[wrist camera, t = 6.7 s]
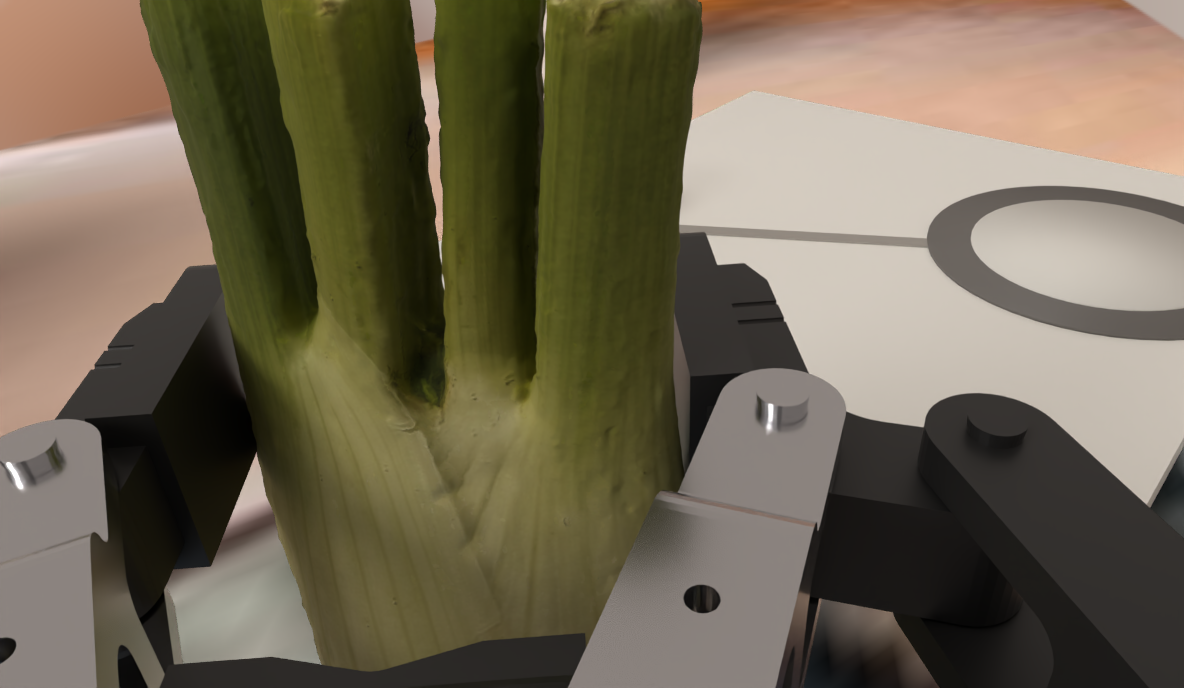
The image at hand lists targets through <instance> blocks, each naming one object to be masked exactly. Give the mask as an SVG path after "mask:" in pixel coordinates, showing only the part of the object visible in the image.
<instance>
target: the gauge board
mask: <svg viewBox="0 0 1184 688" xmlns="http://www.w3.org/2000/svg"><path fill="white" fill-rule="evenodd" d="M679 232H680V233H692V232H705V233H706V235H707V238H708V241H709V243H710V246H711V249H712V252H713V254H714V257H715V260H716V263H717V265H724V264H738V263H745V264H746V265H748V266H749V267H750V268H752V269H753V270H754V271H756V272H757V273H759V274H760V275H761V276H763V277H764V278H765V279H767V281H768V283H769V285H770V287H771V289H772V292H773V294H774V296H775V298H776V304H777V305H779V307H780V310H781V312H782V314H783V316H784V322H786V323H787V325H788V327H789V330H790V332H791V334H792V336H793V339H794V341H795V343H796V345H797V348H798V350H799V352H800V354H801V357H802V359H803V361H804V363H805V365H806V368H807V370H808V372H809V374H812V375H814V376H817V377H819V378H821V379H823V380H825V381H826V382H828V383H830V384H831V385H832V386H833V387H834V388H836V389H837V390H838V392H839V393H840V394H841V395H842V397H843V399H844V401H845V405H846V411H847V412H849V413H852V414H855V415H857V416H860V417H864V418H867V419H871V420H876V421H882V422H888V423H896V424H903V425H911V426H918V427H924V423H925V418H926V415H927V413H928V411H929V409H930V408H931V407H932V406H933V405H934V404H936V403H937V402H939V401H940V400H943V399H945V398H947V397H950V396H954V395H959V394H966V393H985V394H994V395H1000V396H1005V397H1009V398H1013V399H1016V400H1019V401H1021V402H1024V403H1027V404H1029V405H1031V406H1033V407H1035V408H1037V409H1039V410H1040V411H1042V412H1044V413H1045V414H1047V415H1048V416H1049V417H1050V418H1052V419H1053V420H1054V421H1055V422H1056V423H1057V424H1058V425H1060V426H1061V427H1062V428H1063V429H1064V430H1065V431H1066V432H1067V433H1068V434H1069V435H1071V436H1072V437H1073V438H1074V439H1075V440H1076V441H1077V442H1078V443H1079V444H1080V445H1082V446H1083V447H1084V448H1085V449H1086V450H1087V451H1088V452H1089V453H1090V454H1091V455H1093V456H1094V457H1095V458H1096V459H1097V460H1098V461H1099V462H1100V463H1101V464H1102V465H1104V466H1105V467H1106V468H1107V469H1108V470H1109V471H1110V472H1111V473H1112V474H1113V475H1114V476H1116V477H1117V478H1118V479H1119V480H1120V481H1121V482H1122V483H1123V484H1124V485H1125V486H1127V487H1128V488H1129V489H1130V490H1131V491H1132V492H1133V493H1134V494H1135V495H1136V496H1138V497H1139V498H1140V499H1141V500H1142V501H1143V502H1144V503H1145V504H1146V505H1147V506H1149V507H1151V505H1152V503H1153V502H1154V500H1155V498H1156V496H1157V494H1158V493H1159V491H1160V489H1161V487H1162V485H1163V483H1164V482H1165V480H1166V478H1167V476H1168V474H1169V472H1170V471H1171V469H1172V467H1173V465H1174V463H1175V461H1176V460H1177V458H1178V456H1179V454H1180V452H1181V450H1182V449H1183V447H1184V176H1179V175H1174V174H1169V173H1164V172H1159V171H1154V170H1149V169H1144V168H1139V167H1134V166H1129V165H1124V164H1119V163H1114V162H1109V161H1104V160H1099V159H1094V158H1089V157H1084V156H1079V155H1074V154H1069V153H1064V152H1059V151H1054V150H1049V149H1044V148H1039V147H1034V146H1029V145H1024V144H1019V143H1014V142H1009V141H1004V140H999V139H994V138H989V137H984V136H979V135H974V134H969V133H964V132H959V131H954V130H949V129H944V128H939V127H934V126H929V125H924V124H919V123H914V122H909V121H904V120H899V119H894V118H889V117H884V116H879V115H874V114H869V113H864V112H859V111H854V110H849V109H844V108H839V107H834V106H829V105H824V104H819V103H814V102H809V101H804V100H799V99H794V98H789V97H784V96H779V95H774V94H769V93H764V92H759V91H752V92H749V93H747V94H745V95H743V96H741V97H739V98H737V99H735V100H733V101H731V102H729V103H727V104H724V105H722V106H720V107H718V108H716V109H714V110H712V111H710V112H708V113H706V114H704V115H701V116H699V117H697V118H695V119H693V120H691V123H690V128H689V133H688V138H687V144H686V150H685V158H684V167H683V193H682V199H681V209H680V220H679ZM441 243H442V240H441V241H439V250H440V259H441V263H442V253H441ZM442 282H443V287H444V278H443V274H442ZM444 290H445V287H444Z"/></svg>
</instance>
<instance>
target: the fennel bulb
mask: <svg viewBox="0 0 1184 688" xmlns="http://www.w3.org/2000/svg"><path fill="white" fill-rule="evenodd" d="M435 5H436V22H435V32H434V62H435V79H436V85H437V90H438V98H439V111H438V113H439V119H440V124H441V128H440V132H439V146H440V161H441V166H440V179H441V183H442V187H443V235H442V243H441V253H442V263H441V259H440V250H439V242H438V236H437V232H436V225H435V218H436V206H435V202H434V198H433V193H432V187H431V183H430V178H429V173H428V144H429V141H430V135H429V132H428V127H427V125H426V124H425V116H426V112H425V106H424V101H423V99H422V96H421V81H420V73H419V68H418V61H417V54H416V51H415V39H414V27H413V19H412V11H411V6H410V0H140V7H141V14H142V17H143V20H144V23H145V26H146V28H147V31H148V35H149V41H150V46H151V50H152V53H153V56H154V58H155V60H156V62H157V64H158V66H159V69H160V71H161V74H162V76H163V78H164V81H165V83H166V87H167V90H168V93H169V96H170V100H171V105H172V111H173V115H174V118H175V120H176V123H177V127H178V132H179V135H180V138H181V140H182V142H183V144H184V148H185V153H186V156H187V159H188V162H189V166H190V169H191V172H192V175H193V178H194V181H195V184H196V187H197V190H198V194H199V199H200V202H201V206H202V210H203V213H204V214H205V216H206V221H207V225H208V228H209V231H210V236H211V240H212V245H213V254H214V258H215V261H216V264H217V269H218V273H219V277H220V282H221V287H222V290H223V294H224V299H225V310H226V314H227V317H228V324H229V327H230V330H231V334H232V339H233V344H234V348H235V354H236V358H237V362H238V366H239V373H240V378H241V381H242V384H243V389H244V393H245V395H246V404H247V409H248V411H249V414H250V416H251V421H252V430H253V434H254V437H255V439H256V442H257V457H258V461H259V464H260V467H261V472H262V475H263V482H264V487H265V492H266V496H267V498H268V501H269V503H270V505H271V507H272V510H273V513H274V516H275V521H276V526H277V530H278V537H279V539H280V541H281V543H282V545H283V548H284V550H285V553H286V556H287V559H288V562H289V565H290V567H291V570H292V573H293V575H294V577H295V579H296V581H297V584H298V587H299V590H300V593H301V597H302V606H303V607H304V609H305V610H306V612H307V616H308V619H309V622H310V624H311V627H312V629H313V634H314V641H315V645H316V648H317V653H318V656H319V659H320V661H321V664H322V665H327V666H333V667H340V668H346V669H353V670H359V671H369V672H370V671H380V670H384V669H388V668H391V667H395V666H398V665H402V664H405V663H409V662H412V661H415V660H419V659H422V658H426V657H429V656H433V655H436V654H439V653H443V652H446V651H450V650H453V649H457V648H460V647H464V646H467V645H470V644H474V643H477V642H481V641H486V640H499V639H512V638H525V637H538V636H551V635H564V634H577V633H585V638H586V647H587V645H588V643H589V640H590V638H591V636H592V634H593V632H594V629H595V627H596V625H597V623H598V621H599V618H600V616H601V614H602V612H603V610H604V608H605V605H606V603H607V601H608V599H609V597H610V594H611V592H612V590H613V588H614V586H615V583H616V581H617V579H618V577H619V575H620V572H621V570H622V568H623V566H624V564H625V562H626V559H627V557H628V555H629V553H630V551H631V548H632V546H633V544H634V542H635V540H636V537H637V535H638V533H639V531H640V529H641V526H642V524H643V522H644V520H645V518H646V515H647V513H648V511H649V509H650V507H651V505H652V503H653V501H654V499H655V497H656V496H657V494H658V493H659V492H660V491H662V490H667V491H672V492H676V493H678V491H679V488H680V486H681V484H682V481H683V479H684V477H685V472H684V466H683V459H682V448H681V442H680V435H679V428H678V415H677V408H676V398H675V387H674V378H673V361H674V309H675V292H676V282H677V258H678V255H679V251H680V232H679V220H680V209H681V199H682V193H683V167H684V158H685V150H686V144H687V138H688V133H689V128H690V123H691V118H692V96H693V87H694V83H695V78H696V74H697V69H698V63H699V51H700V44H701V39H702V21H701V16H702V4H701V2H698V1H697V0H547V1H546V0H435ZM546 10H547V23H546V32H545V44H544V33H543V24H544V17H545V12H546ZM544 45H545V79H544V83H543V77H542V64H543V56H544ZM442 274H443V278H444V287H445V290H444V287H443V282H442Z"/></svg>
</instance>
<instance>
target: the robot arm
mask: <svg viewBox="0 0 1184 688" xmlns="http://www.w3.org/2000/svg"><path fill="white" fill-rule="evenodd" d="M673 378H674V387H675V398H676V408H677V415H678V428H679V435H680V442H681V448H682V459H683V466H684V472H685V477H684V479H683V481H682V484H681V486H680V488H679V491H678V493H676V492H672V491H667V490H662V491H660V492H659V493H658V494H657V496H656V497H655V499H654V501H653V503H652V505H651V507H650V509H649V511H648V513H647V515H646V518H645V520H644V522H643V524H642V526H641V529H640V531H639V533H638V535H637V537H636V540H635V542H634V544H633V546H632V548H631V551H630V553H629V555H628V557H627V559H626V562H625V564H624V566H623V568H622V570H621V572H620V575H619V577H618V579H617V581H616V583H615V586H614V588H613V590H612V592H611V594H610V597H609V599H608V601H607V603H606V605H605V608H604V610H603V612H602V614H601V616H600V618H599V621H598V623H597V625H596V627H595V629H594V632H593V634H592V636H591V638H590V640H589V643H588V645H587V647H586V638H585V633H577V634H564V635H551V636H538V637H525V638H512V639H499V640H486V641H481V642H477V643H474V644H470V645H467V646H464V647H460V648H457V649H453V650H450V651H446V652H443V653H439V654H436V655H433V656H429V657H426V658H422V659H419V660H415V661H412V662H409V663H405V664H402V665H398V666H395V667H391V668H388V669H384V670H380V671H370V672H369V671H359V670H353V669H346V668H340V667H333V666H327V665H320V664H314V663H307V662H301V661H294V660H288V659H281V658H275V657H265V658H252V659H239V660H226V661H213V662H200V663H187V664H183V660H182V653H181V647H180V640H179V633H178V626H177V619H176V613H175V606H174V603H173V600H172V598H171V596H170V593H169V591H168V589H167V586H166V584H167V582H168V580H169V577H170V575H171V573H172V571H173V569H183V568H196V567H210V566H211V565H212V562H213V560H214V557H215V555H216V552H217V550H218V547H219V545H220V542H221V540H222V537H223V535H224V532H225V530H226V527H227V525H228V522H229V520H230V517H231V515H232V512H233V510H234V507H235V505H236V502H237V500H238V497H239V495H240V492H241V490H242V487H243V485H244V482H245V480H246V477H247V475H248V472H249V470H250V467H251V465H252V462H253V460H254V457H255V455H256V452H257V442H256V439H255V437H254V434H253V430H252V421H251V416H250V414H249V411H248V409H247V404H246V395H245V393H244V389H243V384H242V381H241V378H240V373H239V366H238V362H237V358H236V354H235V348H234V344H233V339H232V334H231V330H230V327H229V324H228V317H227V314H226V310H225V299H224V294H223V290H222V287H221V282H220V277H219V273H218V269H217V265H202V266H190V267H188V268H187V269H186V270H185V271H184V273H183V274H182V276H181V277H180V279H179V280H178V282H177V283H176V284H175V286H174V287H173V289H172V290H171V292H170V293H169V295H168V296H167V298H166V299H165V301H164V302H163V303H153V304H152V305H150V306H149V307H148V308H146V309H145V310H143V311H142V312H140V313H139V314H138V315H136V316H135V317H133V318H132V319H130V320H129V321H128V322H126V323H125V324H124V325H123V326H122V328H121V329H120V330H119V332H118V333H117V334H116V336H115V337H114V339H113V340H112V341H111V343H110V344H109V346H108V351H104V352H103V354H102V355H101V357H100V358H99V359H98V361H97V362H96V363H95V369H94V370H90V372H89V373H88V375H87V376H86V377H85V379H84V380H83V381H82V383H81V384H80V386H79V387H78V388H77V390H76V391H75V392H74V394H73V395H72V397H71V398H70V399H69V401H68V402H67V404H66V405H65V406H64V408H63V409H62V410H61V412H60V413H59V415H58V416H57V417H56V419H55V420H51V421H45V422H40V423H36V424H32V425H29V426H26V427H23V428H20V429H18V430H15V431H13V432H11V433H9V434H7V435H5V436H3V437H1V438H0V688H803V686H804V681H805V677H806V672H807V667H808V662H809V658H810V653H811V648H812V643H813V639H814V634H815V629H816V624H817V620H818V615H819V610H820V605H821V601H822V599H826V600H831V601H836V602H841V603H847V604H852V605H857V606H863V607H868V608H873V609H878V610H884V611H889V612H893V614H894V617H895V619H896V621H897V623H898V625H899V626H900V628H901V629H902V631H903V632H904V634H905V635H906V637H907V638H908V640H909V642H910V643H911V645H912V646H913V648H914V649H915V651H916V652H917V654H918V655H919V657H920V658H921V660H922V661H923V663H924V664H925V666H926V668H927V669H928V671H929V672H930V674H931V675H932V677H933V678H934V680H935V681H936V683H937V684H938V686H939V687H940V688H1184V538H1183V537H1182V536H1180V535H1179V534H1178V533H1177V532H1176V531H1175V530H1174V529H1173V528H1172V527H1171V526H1169V525H1168V524H1167V523H1166V522H1165V521H1164V520H1163V519H1162V518H1161V517H1160V516H1158V515H1157V514H1156V513H1155V512H1154V511H1153V510H1152V509H1151V508H1150V507H1149V506H1147V505H1146V504H1145V503H1144V502H1143V501H1142V500H1141V499H1140V498H1139V497H1138V496H1136V495H1135V494H1134V493H1133V492H1132V491H1131V490H1130V489H1129V488H1128V487H1127V486H1125V485H1124V484H1123V483H1122V482H1121V481H1120V480H1119V479H1118V478H1117V477H1116V476H1114V475H1113V474H1112V473H1111V472H1110V471H1109V470H1108V469H1107V468H1106V467H1105V466H1104V465H1102V464H1101V463H1100V462H1099V461H1098V460H1097V459H1096V458H1095V457H1094V456H1093V455H1091V454H1090V453H1089V452H1088V451H1087V450H1086V449H1085V448H1084V447H1083V446H1082V445H1080V444H1079V443H1078V442H1077V441H1076V440H1075V439H1074V438H1073V437H1072V436H1071V435H1069V434H1068V433H1067V432H1066V431H1065V430H1064V429H1063V428H1062V427H1061V426H1060V425H1058V424H1057V423H1056V422H1055V421H1054V420H1053V419H1052V418H1050V417H1049V416H1048V415H1047V414H1045V413H1044V412H1042V411H1040V410H1039V409H1037V408H1035V407H1033V406H1031V405H1029V404H1027V403H1024V402H1021V401H1019V400H1016V399H1013V398H1009V397H1005V396H1000V395H994V394H985V393H966V394H959V395H954V396H950V397H947V398H945V399H943V400H940V401H939V402H937V403H936V404H934V405H933V406H932V407H931V408H930V409H929V411H928V413H927V415H926V418H925V423H924V427H918V426H911V425H903V424H896V423H888V422H882V421H876V420H871V419H867V418H864V417H860V416H857V415H855V414H852V413H849V412H847V411H846V405H845V401H844V399H843V397H842V395H841V394H840V393H839V392H838V390H837V389H836V388H834V387H833V386H832V385H831V384H830V383H828V382H826V381H825V380H823V379H821V378H819V377H817V376H814V375H812V374H809V372H808V370H807V368H806V365H805V363H804V361H803V359H802V357H801V354H800V352H799V350H798V348H797V345H796V343H795V341H794V339H793V336H792V334H791V332H790V330H789V327H788V325H787V323H786V322H784V316H783V314H782V312H781V310H780V307H779V305H777V304H776V298H775V296H774V294H773V292H772V289H771V287H770V285H769V283H768V281H767V279H765V278H764V277H763V276H761V275H760V274H759V273H757V272H756V271H754V270H753V269H752V268H750V267H749V266H748V265H746V264H745V263H738V264H724V265H717V263H716V260H715V257H714V254H713V252H712V249H711V246H710V243H709V241H708V238H707V235H706V233H705V232H692V233H680V251H679V255H678V258H677V282H676V292H675V309H674V361H673Z"/></svg>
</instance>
